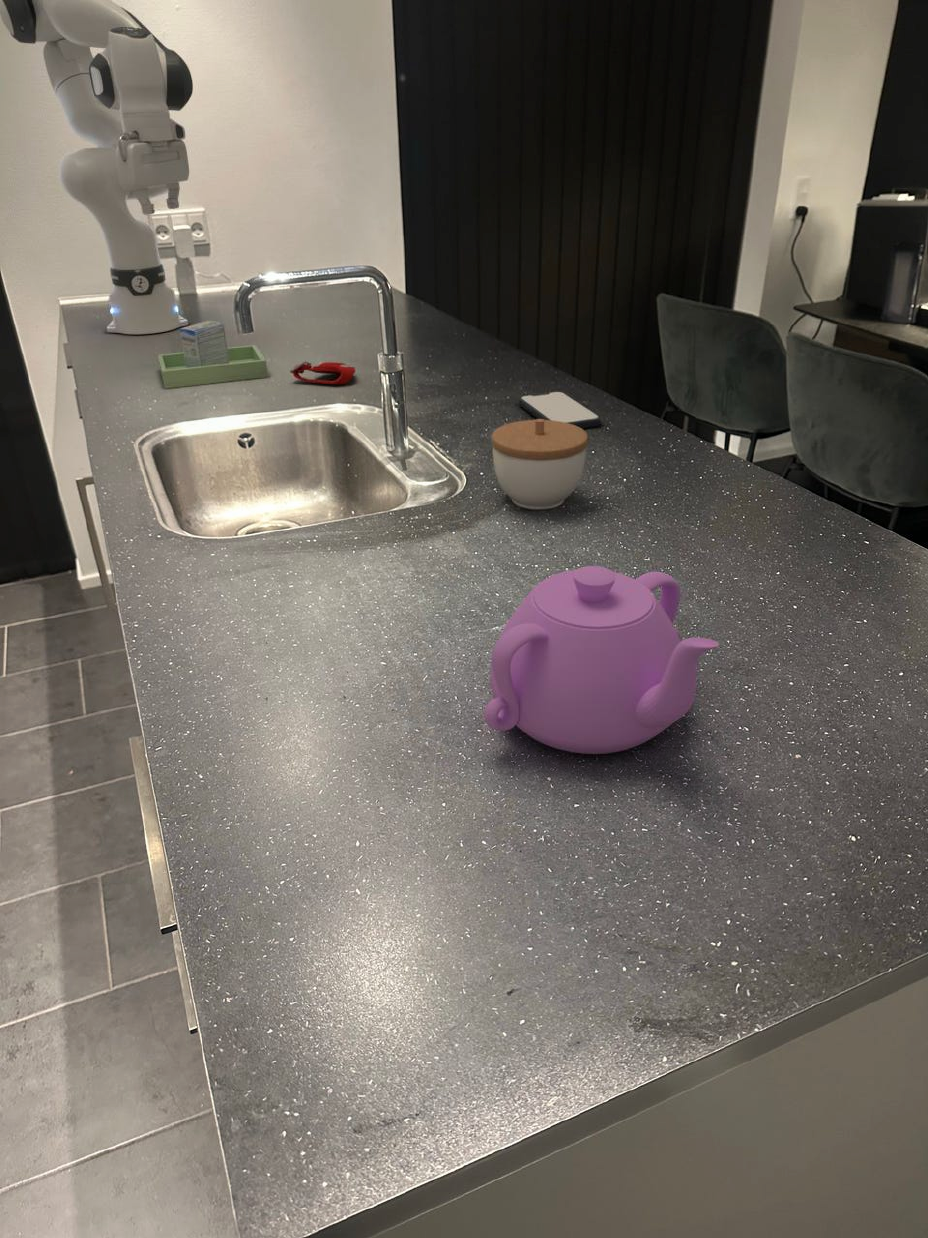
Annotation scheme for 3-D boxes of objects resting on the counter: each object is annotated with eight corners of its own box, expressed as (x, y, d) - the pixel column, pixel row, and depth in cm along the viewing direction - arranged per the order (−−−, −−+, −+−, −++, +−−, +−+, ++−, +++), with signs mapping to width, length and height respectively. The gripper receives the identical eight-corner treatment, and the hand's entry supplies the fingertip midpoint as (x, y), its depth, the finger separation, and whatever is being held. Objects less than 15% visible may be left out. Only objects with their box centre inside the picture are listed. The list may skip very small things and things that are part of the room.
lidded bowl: (558, 476, 130) (561, 400, 124) (601, 508, 119) (606, 427, 114) (477, 489, 126) (476, 412, 120) (514, 524, 116) (515, 441, 110)
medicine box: (214, 363, 185) (207, 319, 180) (230, 366, 183) (224, 322, 178) (186, 372, 179) (178, 328, 175) (202, 375, 177) (195, 330, 173)
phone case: (603, 427, 149) (561, 399, 162) (604, 418, 148) (561, 390, 161) (554, 434, 146) (516, 405, 159) (554, 425, 145) (516, 396, 158)
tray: (160, 370, 184) (157, 354, 182) (257, 360, 189) (255, 344, 188) (165, 388, 173) (162, 371, 171) (267, 377, 178) (265, 360, 177)
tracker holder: (340, 364, 181) (366, 361, 173) (340, 387, 182) (367, 385, 174) (285, 360, 174) (310, 357, 166) (286, 384, 174) (311, 382, 167)
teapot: (597, 848, 66) (608, 694, 59) (431, 708, 81) (424, 573, 74) (786, 736, 77) (815, 594, 70) (608, 631, 92) (617, 507, 85)
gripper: (133, 132, 159) (148, 217, 166) (189, 127, 176) (200, 205, 183) (101, 133, 160) (117, 217, 167) (159, 128, 177) (172, 205, 184)
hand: (161, 211), depth 175 cm, fingers open, 8 cm apart
